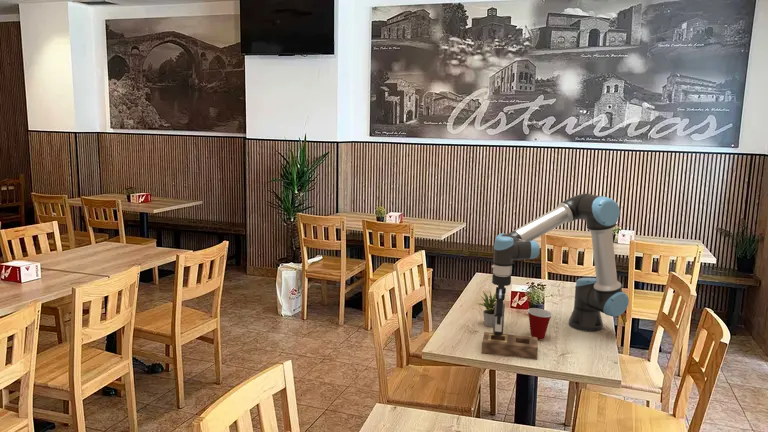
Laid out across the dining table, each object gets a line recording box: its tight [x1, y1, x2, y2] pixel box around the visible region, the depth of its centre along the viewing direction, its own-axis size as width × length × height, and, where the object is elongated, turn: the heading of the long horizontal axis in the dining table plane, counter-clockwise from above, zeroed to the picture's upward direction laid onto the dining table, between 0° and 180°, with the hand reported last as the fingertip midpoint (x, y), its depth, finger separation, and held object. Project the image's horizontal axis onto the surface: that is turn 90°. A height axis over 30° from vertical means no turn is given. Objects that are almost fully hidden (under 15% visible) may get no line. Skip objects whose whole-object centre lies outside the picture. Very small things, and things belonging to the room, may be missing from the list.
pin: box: [492, 301, 506, 336], centre depth 248 cm, size 4×4×13 cm
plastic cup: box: [527, 307, 553, 341], centre depth 265 cm, size 11×11×12 cm
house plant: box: [477, 291, 508, 328], centre depth 278 cm, size 14×14×16 cm
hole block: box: [481, 331, 539, 360], centre depth 249 cm, size 22×12×5 cm, turn 77°
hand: (498, 329), depth 249 cm, fingers closed on pin, 4 cm apart
